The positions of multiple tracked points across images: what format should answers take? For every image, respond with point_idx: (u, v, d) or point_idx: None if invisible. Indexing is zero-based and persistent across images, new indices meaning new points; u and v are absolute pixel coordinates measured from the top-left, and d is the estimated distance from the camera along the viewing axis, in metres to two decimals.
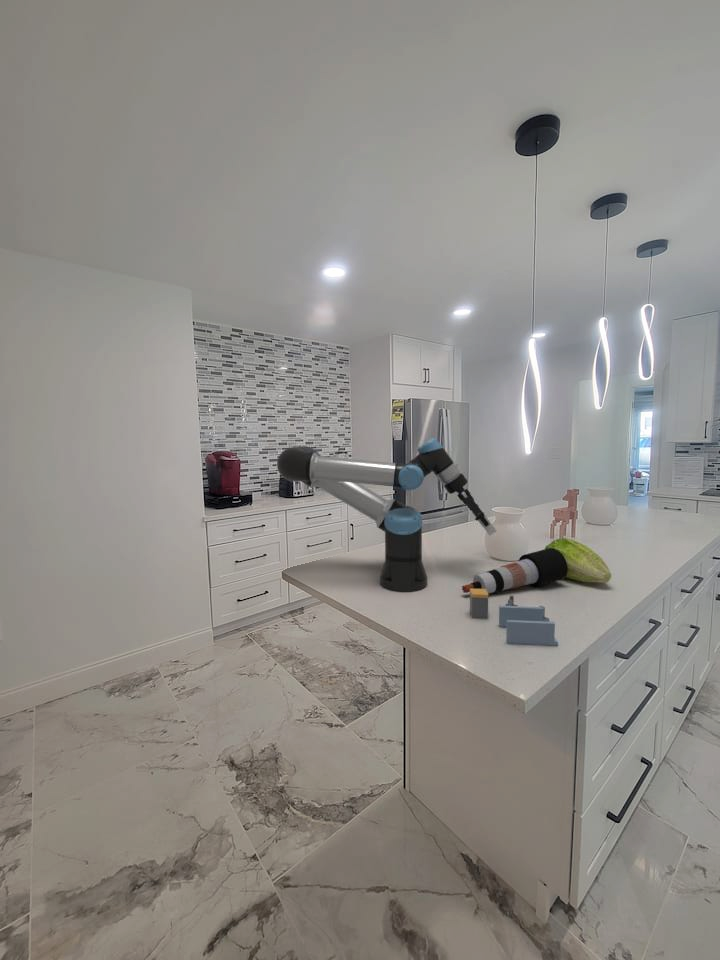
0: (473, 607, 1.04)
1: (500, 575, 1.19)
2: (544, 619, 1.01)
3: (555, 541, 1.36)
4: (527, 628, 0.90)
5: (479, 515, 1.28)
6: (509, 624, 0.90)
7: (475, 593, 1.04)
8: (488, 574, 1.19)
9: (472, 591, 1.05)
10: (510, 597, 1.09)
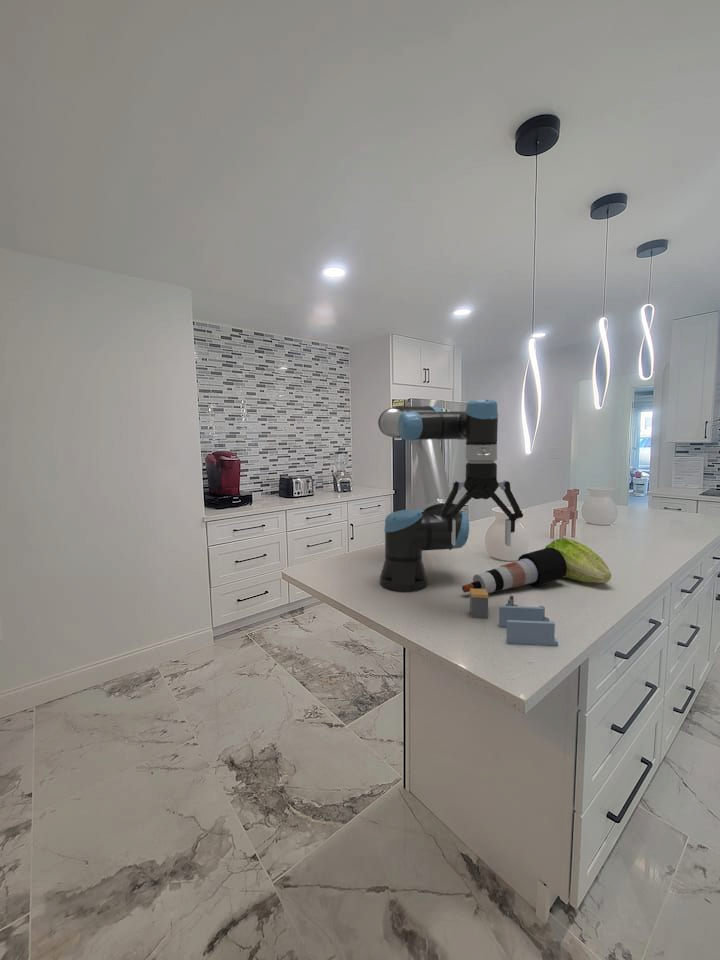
0: (473, 607, 1.04)
1: (500, 575, 1.19)
2: (544, 619, 1.01)
3: (555, 541, 1.36)
4: (527, 628, 0.90)
5: (440, 513, 1.05)
6: (509, 624, 0.90)
7: (475, 593, 1.04)
8: (488, 574, 1.19)
9: (472, 591, 1.05)
10: (510, 597, 1.09)
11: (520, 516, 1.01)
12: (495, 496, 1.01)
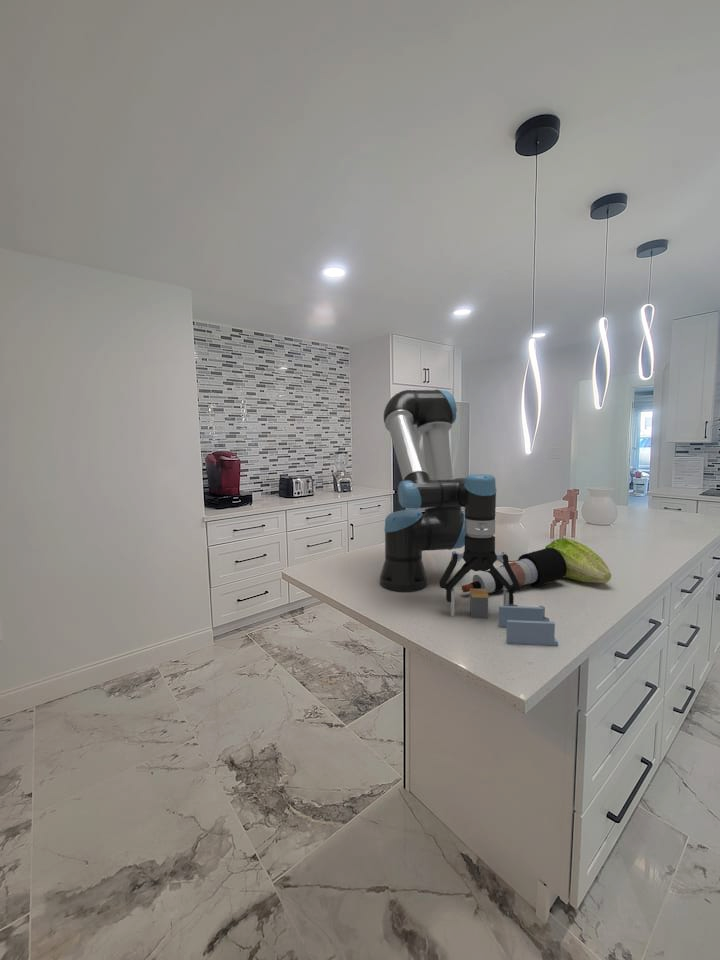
0: (473, 607, 1.04)
1: None
2: (544, 619, 1.01)
3: (555, 541, 1.36)
4: (527, 628, 0.90)
5: (439, 583, 1.06)
6: (509, 624, 0.90)
7: (475, 593, 1.04)
8: (487, 574, 1.20)
9: (472, 591, 1.05)
10: None
11: (518, 589, 1.02)
12: (493, 569, 1.02)
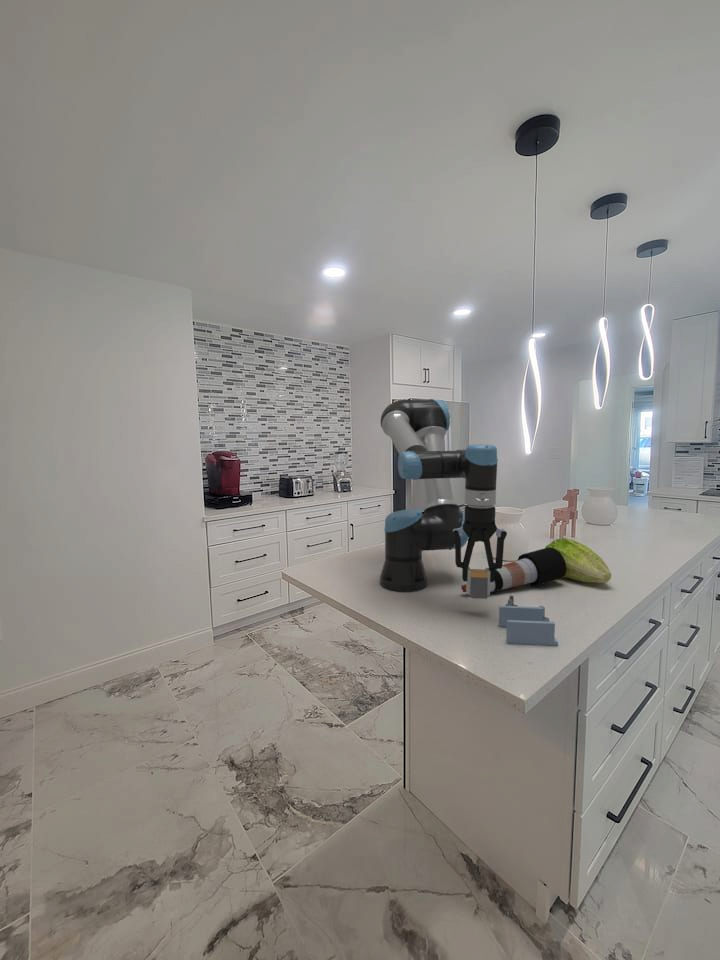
0: (472, 587, 1.03)
1: (499, 574, 1.20)
2: (544, 619, 1.01)
3: (555, 541, 1.36)
4: (527, 628, 0.90)
5: (456, 563, 1.06)
6: (509, 624, 0.90)
7: (475, 573, 1.03)
8: None
9: (471, 571, 1.05)
10: (510, 597, 1.09)
11: (499, 567, 1.03)
12: (488, 542, 1.02)
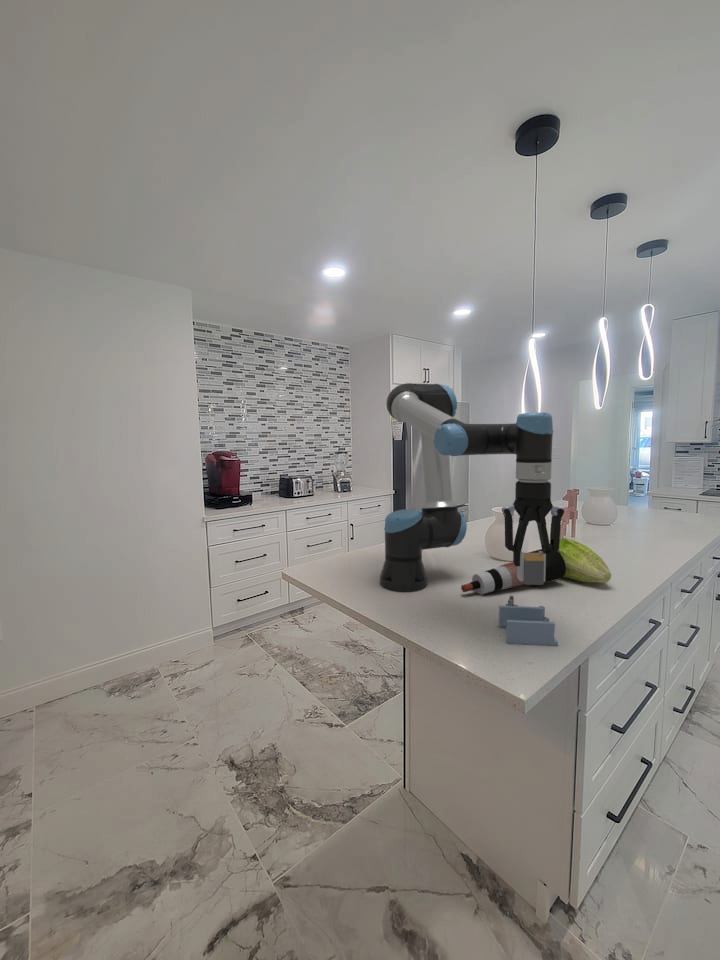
0: (527, 572, 0.93)
1: (499, 574, 1.20)
2: (544, 619, 1.01)
3: None
4: (527, 628, 0.90)
5: (506, 546, 0.95)
6: (509, 624, 0.90)
7: (529, 556, 0.93)
8: (487, 573, 1.20)
9: (524, 555, 0.94)
10: (510, 597, 1.09)
11: (555, 549, 0.93)
12: (543, 521, 0.92)
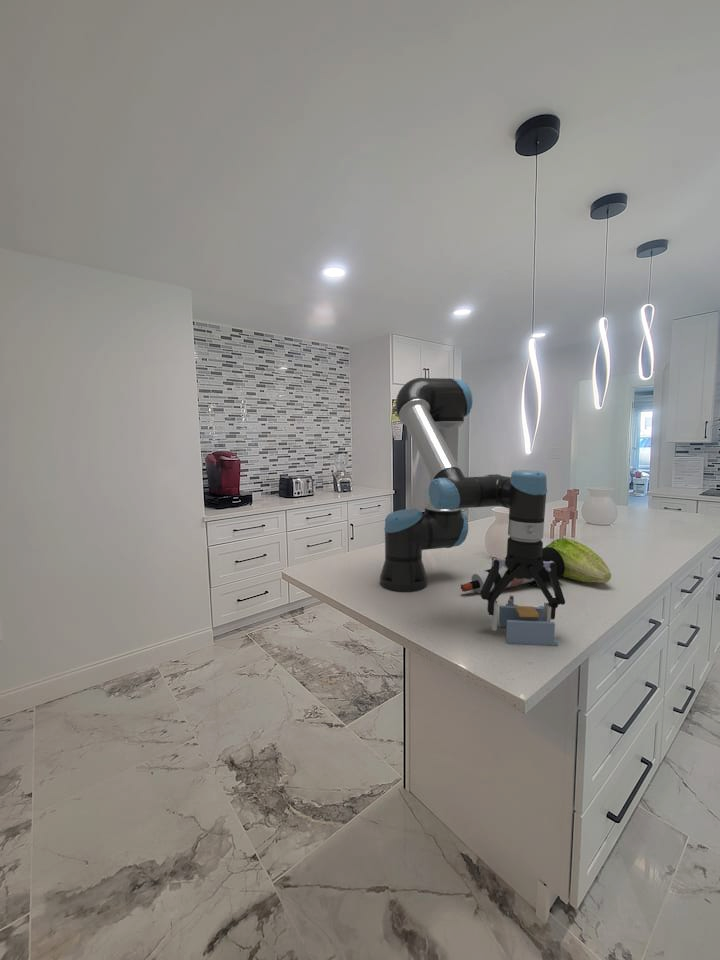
0: None
1: (498, 574, 1.20)
2: None
3: (555, 541, 1.36)
4: (527, 628, 0.90)
5: (481, 594, 0.95)
6: (509, 624, 0.90)
7: (523, 612, 0.92)
8: (486, 573, 1.20)
9: (519, 609, 0.94)
10: (510, 597, 1.09)
11: (562, 603, 0.92)
12: (538, 578, 0.91)
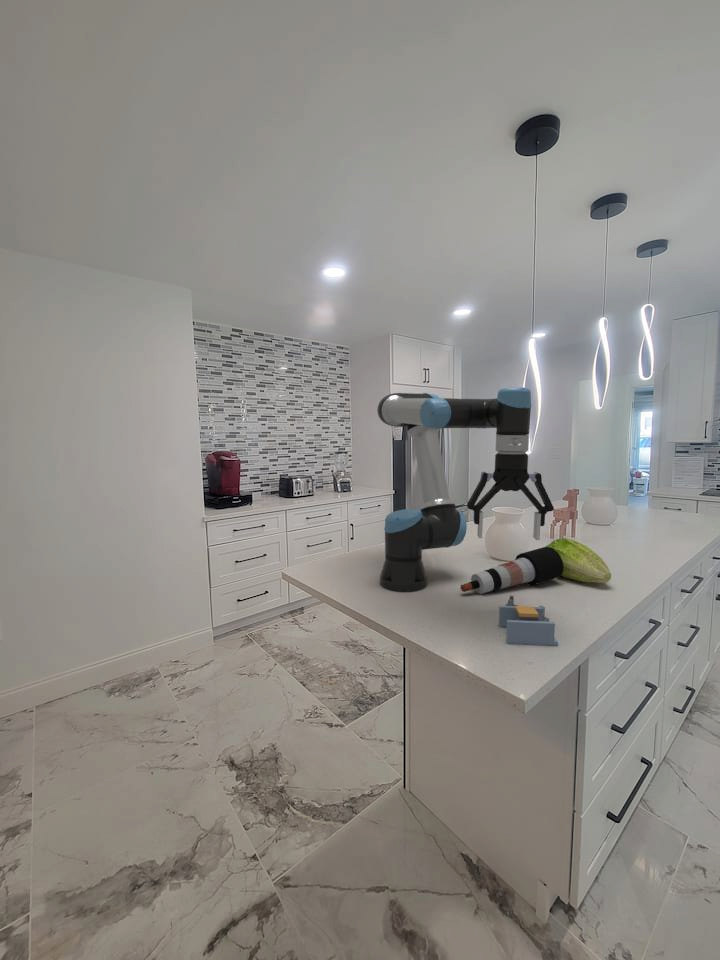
0: None
1: (498, 574, 1.20)
2: (544, 619, 1.01)
3: (555, 541, 1.36)
4: (527, 628, 0.90)
5: (467, 505, 1.01)
6: (509, 624, 0.90)
7: (523, 612, 0.92)
8: (486, 573, 1.21)
9: (519, 609, 0.94)
10: (510, 597, 1.09)
11: (551, 509, 0.98)
12: (525, 488, 0.97)
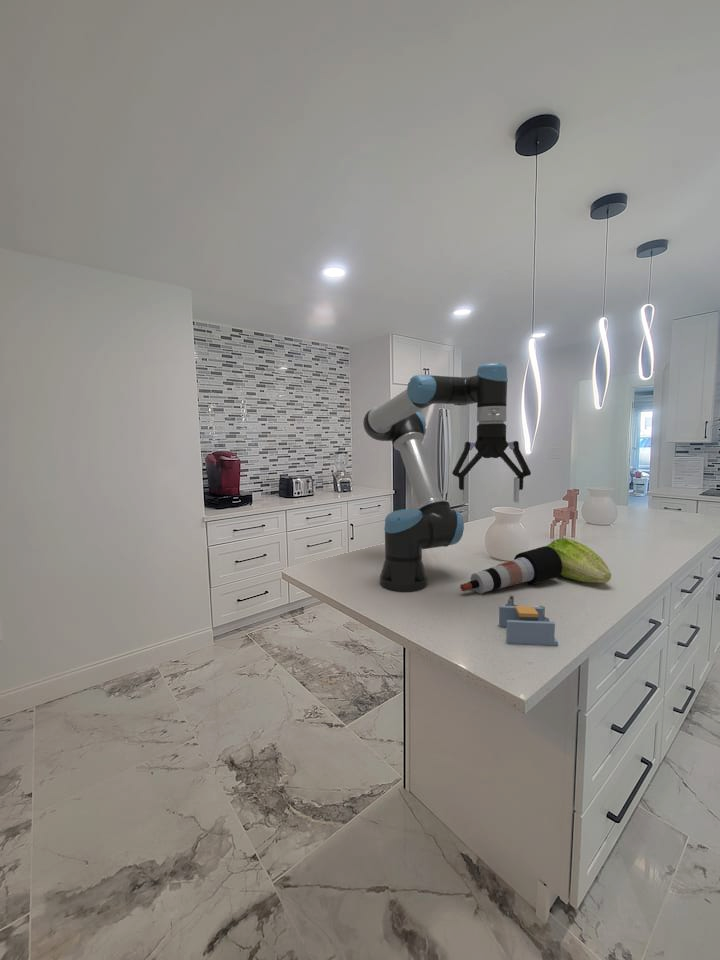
0: None
1: (497, 573, 1.21)
2: (544, 619, 1.01)
3: (555, 541, 1.36)
4: (527, 628, 0.90)
5: (452, 472, 1.11)
6: (509, 624, 0.90)
7: (523, 612, 0.92)
8: (486, 572, 1.21)
9: (519, 609, 0.94)
10: (510, 597, 1.09)
11: (528, 474, 1.07)
12: (504, 455, 1.07)
